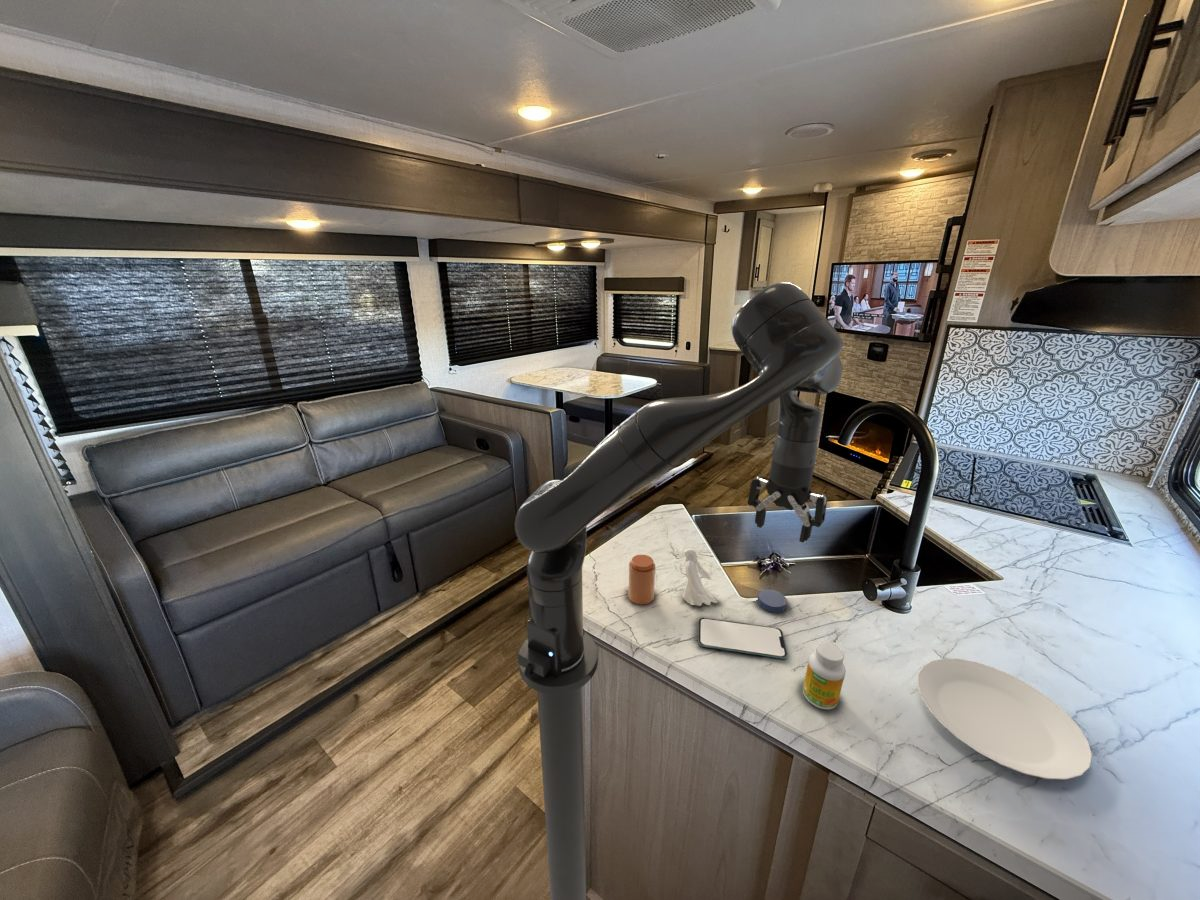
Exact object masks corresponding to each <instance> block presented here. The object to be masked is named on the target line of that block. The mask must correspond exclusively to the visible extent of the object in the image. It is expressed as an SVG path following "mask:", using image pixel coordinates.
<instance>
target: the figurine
mask: <svg viewBox="0 0 1200 900" xmlns="http://www.w3.org/2000/svg"><path fill="white" fill-rule="evenodd" d="M683 554H684V556H685V561H684V569H685V573H686V577H687V580H686V581H687V582H686V585H685V587H684V589H683V592H682V598H683V599H684V601H685V602H687V603H688V604H689V605H690V606H699V607H701V606H702V605H703V604H704V605H706V606H711V603H715V604H717V603H718V601H717V600H716V599H715V598H714V597H713V595H712V594H711V593H709V591H707V589H706V588H705V586H704V585H703V582H702V580H701V578H703V579H706V580H712V579H711V576H710V574H709V572H708V571H707V570H706V569H704V567H703V566H702V565H701V564H700V562H699V560H698V555H697V552H696V551H695V550H694V549H693V548H685V549H684V551H683Z"/></svg>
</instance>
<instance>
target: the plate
mask: <svg viewBox="0 0 1200 900" xmlns="http://www.w3.org/2000/svg"><path fill="white" fill-rule="evenodd" d="M916 684H917V688H918V692H919V696H920V698H921V699H922V701H923V702H924V704H925V706H926V708H927V709H928V711H930V713H931V714H932V715H933V716H934V717H935V719H936V720H937V721H938V722H939V723H940V724H941V725H942V726H943V727H944V728H945V729H946V730H948V732H950V733H951V734H952V735H953V736H954V737H955V738H956V739H958V740H959V741H960V742H962V743H964V744H965V745H966V746H968V747H969V748H971V749H972V750H974V751H975V752H977V753H978V754H980V755H982V756H984V757H986V758H987V759H990V760H991V761H994V762H995V763H997V764H999V765H1001V766H1003V767H1006V768H1008V769H1011V770H1013V771H1016V772H1018V773H1021V774H1024V775H1028V776H1032V777H1036V778H1041V779H1044V780H1045V779H1046V780H1064V781H1065V780H1070V779H1074V778H1077V777H1081V776H1082V775H1084V774H1085V773H1086V772H1087V771H1089V769H1090V768H1091V764H1092V759H1093V754H1092V750H1091V747H1090V742H1089V741H1088V738H1086V736H1085V734H1084V732H1083V731H1082V729H1081V728H1080V726H1079V725H1078V724H1077V723H1076V721H1074V720H1073V718H1072V717H1071V716H1070V715H1069V714H1068V713H1067V712H1066V711H1065V710H1064V709H1063V708H1061V707H1060V706H1059V705H1058V704H1057V703H1056V702H1055V701H1053V700H1052V699H1051V698H1050V697H1048V696H1047V695H1045V694H1044V693H1042V692H1041V691H1040V690H1038V689H1037V688H1035V687H1034V686H1032V685H1030V684H1029V683H1026V682H1025V681H1023V680H1021V679H1020V678H1018V677H1016V676H1014V675H1012V674H1010V673H1007V672H1005V671H1004V670H1003V671H1002V670H1001V669H998V668H996V667H993V666H990V665H986V664H983V663H981V662H977V661H974V660H973V661H972V660H968V659H967V660H966V659H963V658H962V659H961V658H940V659H935V660H934V659H933V660H931V661H929V662H927V663H926V664H923V666H922V667H921V669H920V670H919V671H918V673H917V681H916Z"/></svg>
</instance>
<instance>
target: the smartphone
mask: <svg viewBox="0 0 1200 900" xmlns="http://www.w3.org/2000/svg"><path fill="white" fill-rule="evenodd" d="M697 635H698V637H697V638H698V639H697V640H698V641H697V642H698V645H699V646H701V647H703V648H710V649H716V650H720V651H722V650H723V651H728V652H734V653H735V652H736V653H741V654H749V655H754V656H762V657H769V658H775V659H781V660H782V659H783V660H784V659H786V658H787V657H788V651H787V646H786V642H785V638H784V633H783V631H782V629H781V628H779V627H774V626H767V625H761V624H760V625H759V624H752V623H745V622H738V621H730V620H723V619H715V618H708V617H701V618H699V619H698V633H697Z"/></svg>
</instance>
